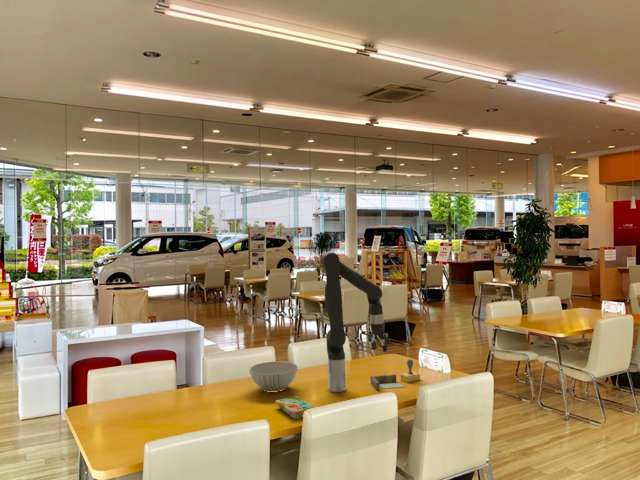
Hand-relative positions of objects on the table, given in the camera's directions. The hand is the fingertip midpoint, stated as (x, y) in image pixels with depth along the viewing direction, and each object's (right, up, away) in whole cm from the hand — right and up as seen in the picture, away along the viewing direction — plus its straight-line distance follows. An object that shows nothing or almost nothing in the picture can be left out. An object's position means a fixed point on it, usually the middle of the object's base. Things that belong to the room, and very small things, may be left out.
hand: (379, 350), depth 281 cm
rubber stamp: (+19, -19, +8) cm, 28 cm away
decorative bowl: (-59, -21, -2) cm, 62 cm away
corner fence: (+4, -19, -2) cm, 20 cm away
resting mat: (+6, -19, -2) cm, 20 cm away
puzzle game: (-45, -22, -37) cm, 63 cm away
